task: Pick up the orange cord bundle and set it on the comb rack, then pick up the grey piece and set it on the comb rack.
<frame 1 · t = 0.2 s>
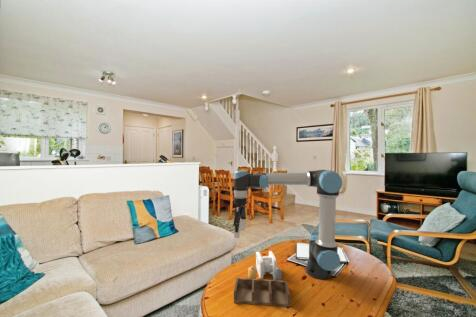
hand: (239, 233, 127), 27 cm above the table, fingers open, 13 cm apart
orange cord bundle: (252, 285, 122), on the table
cable organizer: (265, 274, 135), on the table
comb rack: (261, 296, 112), on the table
grey piece: (277, 286, 121), on the table
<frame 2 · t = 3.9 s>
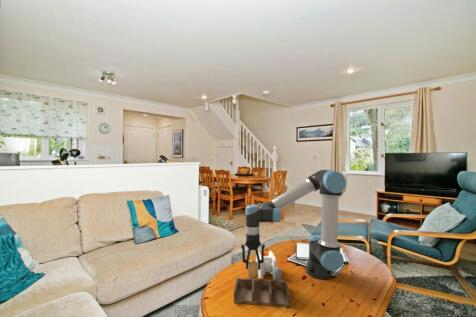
hand: (253, 274, 122), 6 cm above the table, fingers closed on orange cord bundle, 4 cm apart
orange cord bundle: (253, 278, 122), point 4 cm above the table, touching gripper
everything else where it was.
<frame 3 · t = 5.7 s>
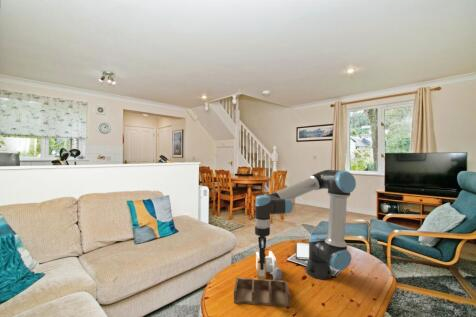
hand: (261, 272, 110), 13 cm above the table, fingers closed on orange cord bundle, 4 cm apart
orange cord bundle: (261, 277, 110), point 11 cm above the table, touching gripper
everything else where it was.
when the fingers open (2 cm above the table, at t = 7.8 s): orange cord bundle stays where it is, resting on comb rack.
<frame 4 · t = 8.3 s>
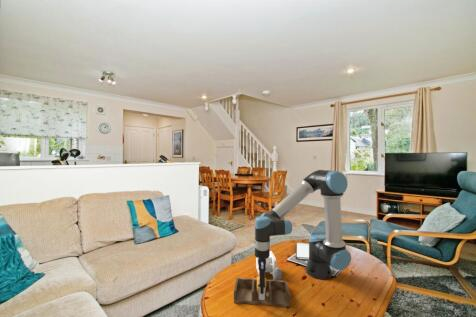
hand: (261, 291, 110), 4 cm above the table, fingers open, 12 cm apart
orange cord bundle: (261, 296, 110), point 1 cm above the table, touching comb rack
everything else where it was.
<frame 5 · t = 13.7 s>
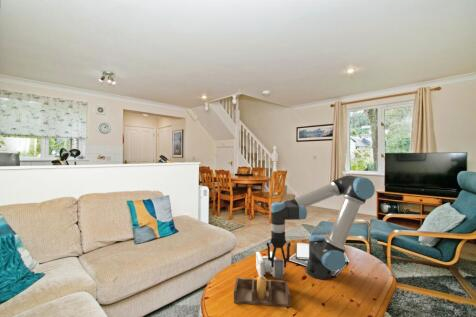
hand: (278, 272, 121), 8 cm above the table, fingers closed on grey piece, 4 cm apart
grey piece: (278, 276, 121), point 5 cm above the table, touching gripper
everything else where it was.
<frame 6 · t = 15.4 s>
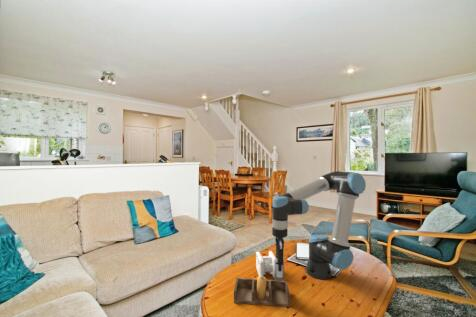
hand: (279, 274, 110), 13 cm above the table, fingers closed on grey piece, 4 cm apart
grey piece: (278, 278, 110), point 11 cm above the table, touching gripper
everything else where it was.
when the fingers open (2 cm above the table, at t = 17.4 s): grey piece stays where it is, resting on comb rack.
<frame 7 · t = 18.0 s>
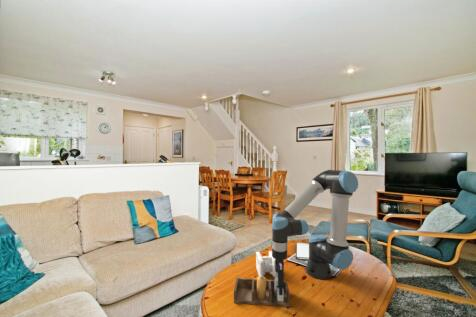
hand: (279, 292, 109), 4 cm above the table, fingers open, 12 cm apart
grey piece: (278, 297, 110), point 1 cm above the table, touching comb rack
everything else where it was.
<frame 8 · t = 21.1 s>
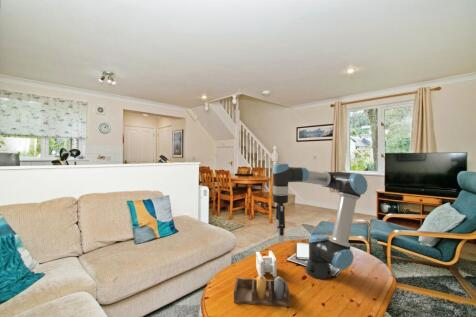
hand: (279, 236, 110), 32 cm above the table, fingers open, 13 cm apart
nothing on the table moved.
at the end: orange cord bundle inside the target area on the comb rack (1.0 cm from its centre), point 1.2 cm above the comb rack's base; grey piece inside the target area on the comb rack (1.0 cm from its centre), point 1.2 cm above the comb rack's base; orange cord bundle tilted 1° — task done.
